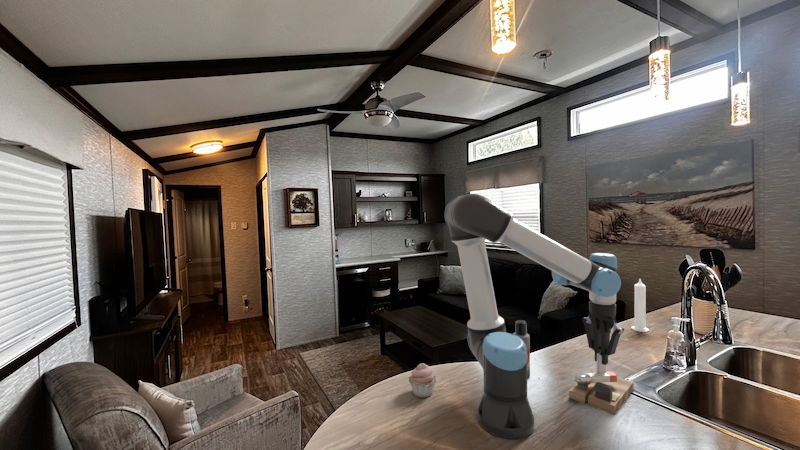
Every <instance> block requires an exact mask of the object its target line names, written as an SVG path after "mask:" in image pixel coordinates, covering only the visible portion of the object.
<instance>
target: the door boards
mask: <svg viewBox="0 0 800 450" xmlns="http://www.w3.org/2000/svg"><path fill="white" fill-rule="evenodd" d="M588 373H597V370H594V369H590V370H589V372H588ZM634 383H635V382H634V381H632V380H628V379H625V378H621V377H619V376H617V382H601V383H600V382H597V383H591V384H589V385H582V384H579V383H577V382H576V383H575V384H574V385H573V386H572V387H570V389H569V390H568V398H569V399H570V398H571V400H572V401H576V402H579V403H581V404H586V403H587V406H590V407H592V408H595V409H598V410H601V411H603V412H607V413H609V414H612V415H616V413H617V412H618V411H619V409H620V408H621V407H622V405H623V404H624V403H625V401H626V400H627V399H628V398H629V396H630V395H631V393H632V392H633V390H634V387H635V386H634Z"/></svg>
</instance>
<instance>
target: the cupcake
mask: <svg viewBox="0 0 800 450" xmlns="http://www.w3.org/2000/svg"><path fill="white" fill-rule="evenodd" d="M436 377H437V376H436V375H435V374H434V372H433V370H432V368H431V367H430V366H429V365H428V364H425V363H424V362H422V363H419V364H418V365H417V366H416V367H415V368H414V369H413V370H412V371H411V375H410V376H409V377H408V382H409V384H410V386H411V390H412V394H413V395H414V396H415V397H418V398H423V399H424V398H429V397H430V396H432V395H433V393H434V388H435V384H436V383H437V381H438V379H436Z"/></svg>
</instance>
